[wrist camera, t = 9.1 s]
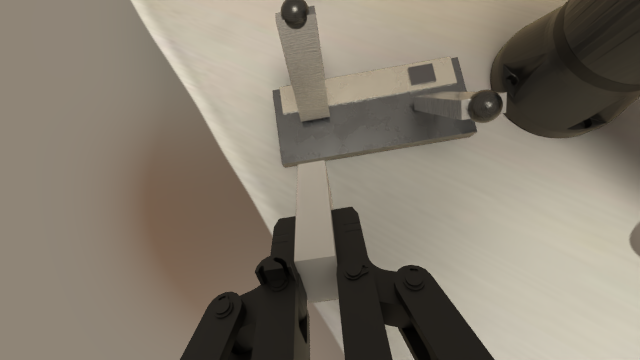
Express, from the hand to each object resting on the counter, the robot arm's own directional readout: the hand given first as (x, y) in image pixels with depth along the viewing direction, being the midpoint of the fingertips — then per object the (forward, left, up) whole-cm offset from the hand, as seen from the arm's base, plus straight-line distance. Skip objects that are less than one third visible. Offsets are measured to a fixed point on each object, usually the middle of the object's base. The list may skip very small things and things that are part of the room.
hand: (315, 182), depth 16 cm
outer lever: (-8, -8, -18) cm, 21 cm away
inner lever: (-18, +2, -18) cm, 25 cm away
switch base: (-13, -3, -20) cm, 24 cm away
